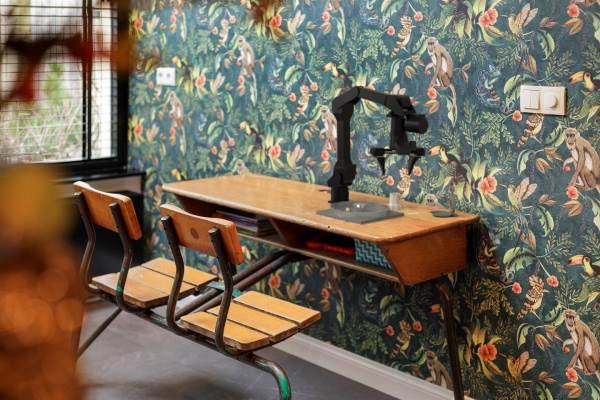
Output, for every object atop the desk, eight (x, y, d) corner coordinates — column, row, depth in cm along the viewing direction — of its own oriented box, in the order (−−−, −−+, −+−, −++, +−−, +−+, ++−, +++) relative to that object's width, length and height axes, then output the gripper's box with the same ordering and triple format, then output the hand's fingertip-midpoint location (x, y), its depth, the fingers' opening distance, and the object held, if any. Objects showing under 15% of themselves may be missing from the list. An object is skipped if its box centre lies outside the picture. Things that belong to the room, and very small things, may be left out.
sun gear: (350, 211, 278) (350, 203, 277) (359, 210, 281) (359, 201, 280) (360, 214, 274) (360, 205, 274) (369, 212, 278) (369, 203, 277)
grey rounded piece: (428, 215, 279) (429, 186, 277) (445, 212, 284) (446, 184, 282) (444, 219, 272) (446, 190, 270) (462, 216, 277) (463, 188, 275)
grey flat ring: (318, 211, 278) (318, 205, 278) (358, 203, 292) (359, 198, 292) (361, 221, 263) (361, 215, 263) (401, 212, 277) (402, 207, 277)
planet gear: (383, 208, 290) (383, 193, 289) (393, 206, 294) (393, 191, 293) (394, 210, 286) (395, 195, 285) (404, 208, 290) (405, 193, 289)
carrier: (316, 214, 279) (316, 205, 278) (358, 206, 293) (358, 197, 292) (361, 224, 263) (361, 215, 262) (403, 215, 277) (404, 206, 277)
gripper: (378, 134, 267) (376, 179, 270) (432, 134, 271) (429, 179, 274) (370, 130, 278) (368, 174, 281) (421, 130, 281) (419, 174, 284)
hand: (396, 175), depth 280 cm, fingers open, 9 cm apart
